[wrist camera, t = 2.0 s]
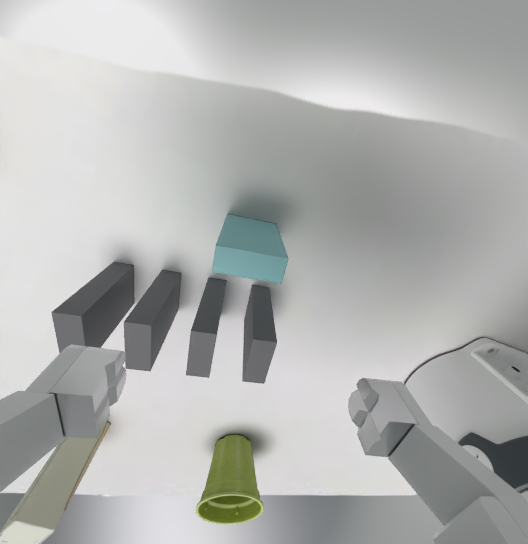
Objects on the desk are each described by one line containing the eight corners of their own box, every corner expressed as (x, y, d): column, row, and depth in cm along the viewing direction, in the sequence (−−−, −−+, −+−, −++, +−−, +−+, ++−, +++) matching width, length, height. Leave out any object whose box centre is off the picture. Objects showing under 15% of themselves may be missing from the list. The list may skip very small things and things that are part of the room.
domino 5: (269, 287, 28) (277, 342, 20) (260, 321, 30) (264, 383, 22) (252, 284, 28) (253, 339, 20) (244, 319, 30) (242, 381, 22)
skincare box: (93, 440, 39) (33, 551, 28) (65, 430, 38) (-9, 543, 27) (112, 421, 37) (55, 532, 27) (84, 410, 36) (12, 522, 25)
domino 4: (227, 213, 24) (216, 245, 16) (276, 223, 25) (288, 258, 17) (224, 232, 25) (212, 271, 17) (271, 242, 26) (281, 283, 18)
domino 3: (226, 280, 27) (216, 334, 19) (220, 315, 30) (208, 377, 22) (208, 277, 27) (191, 330, 19) (203, 313, 29) (186, 375, 21)
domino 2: (181, 273, 27) (151, 325, 19) (178, 309, 29) (150, 371, 21) (162, 269, 26) (123, 321, 18) (160, 307, 29) (125, 368, 21)
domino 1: (133, 265, 26) (81, 316, 18) (134, 303, 28) (87, 364, 20) (113, 261, 26) (51, 312, 18) (115, 300, 28) (61, 361, 20)
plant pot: (257, 459, 44) (259, 524, 36) (205, 458, 43) (195, 526, 36) (264, 428, 40) (267, 494, 32) (206, 426, 39) (195, 494, 31)
